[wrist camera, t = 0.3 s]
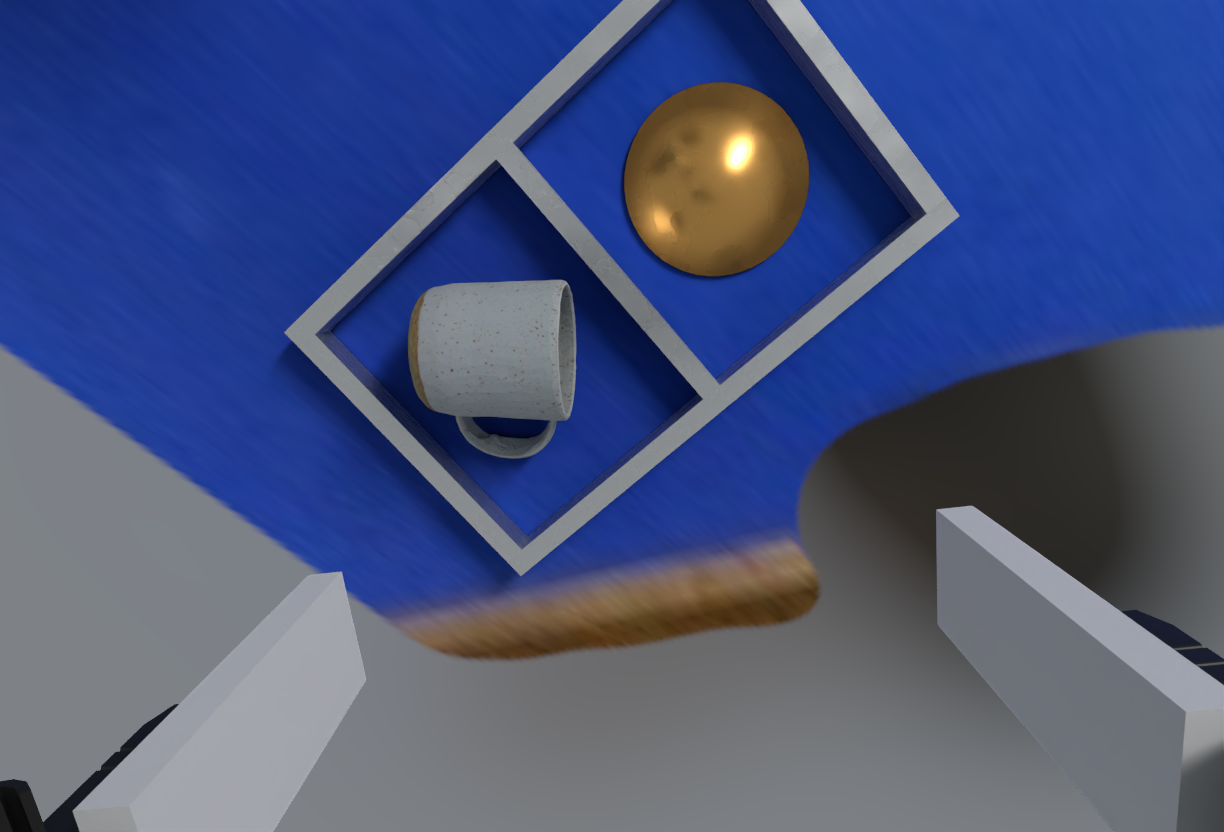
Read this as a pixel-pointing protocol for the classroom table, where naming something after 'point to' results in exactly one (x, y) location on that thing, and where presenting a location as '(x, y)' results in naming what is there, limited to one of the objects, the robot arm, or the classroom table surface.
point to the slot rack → (649, 241)
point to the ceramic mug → (496, 357)
